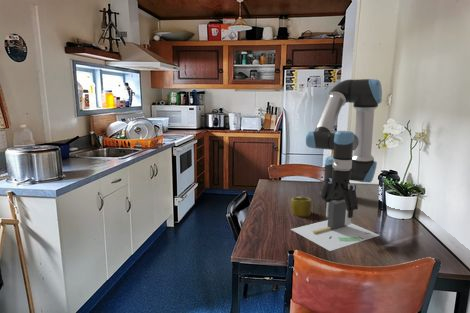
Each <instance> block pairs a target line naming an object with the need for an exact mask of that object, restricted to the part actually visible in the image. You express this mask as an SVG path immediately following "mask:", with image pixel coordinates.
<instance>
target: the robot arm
mask: <svg viewBox="0 0 470 313" xmlns="http://www.w3.org/2000/svg"><path fill="white" fill-rule="evenodd" d="M382 100H383V90H382V84H381V81H380V80H378V79H374V78H366V79H365V78H364V79H363V78H362V79H345V80H343V81H341V82H338V83H337V84H336V85H335V86H333V87H332V88H331V90H330V91H329V92H328V93H327V96H326V103H325V106H324V108H323V111H322V112H321V115H320V117H319V120H318V122H317V125H316V127H315V129H314V131H311V130H310V131H308V132H307V133H306V136H305V145H306V147H308V148H311V149H319V150H330V151H333V153H332V154H333V155H330V156H327V157H326V158H325V160H324V161H325V162H324V172H323V175H324V176H323V182H322V185H321V188H320V191H319V196H320V197H322V200H324V201H325V209H326V211H325V217H326V218H328V213H329V203H330V202H333V201H332V200H334V201H339V200H345V202H346V205H347V210H346V214H345V225H350V224H351V223H352V218H353V216H354V211H355V210H359V206H358V197H357V191H356V190H357V185H356V184H351V182H352V181H353V182H359V183H372V181H373V179H374V176H375V174H376V169H377V165H378V162H377V161H375V157H374V156H373V155H372V146H373V145H372V144H373V132H374V120H375V118H374V117H375V110H376V109H377V108H378V107H379V104H381V103H382V102H383V101H382ZM346 103H351V104H353V108H354V109H355V127H354V132H353V131H349V130H337V131H335V132H333V130H334V127H335V125H336V122H337V120H338V117H339V116H340V113H341V109H342V107H344V106H345V105H346ZM350 181H351V182H350Z"/></svg>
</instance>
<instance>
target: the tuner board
mask: <svg viewBox="0 0 470 313" xmlns="http://www.w3.org/2000/svg"><path fill="white" fill-rule="evenodd" d="M326 227H328V219H327V220H321V221H318V222H315V223H310V224H306V225H302V226H299V227H294V228H291V229H290V230H291V231H293V232H294V233H297V234H298V235H300V236H302V237H304V238H305V239H307V240H309V241H311V242H312V243H314V244H316V245H318V246H319V247H322V248H324V249H325V250H327V251H328V252H331V251H335V250H337V249H341V248H343V247H344V248H346V247H348V246H351V245H354V244H357V243H361V242H363V241H366V240H370V239H373V238H377V237H379V236H381V235H380V234H378V233H375V232H374V231H371V230H368V229H367V228H364V227H361V226H359V225H357V224H354V223H352V222H351V224H350V225H347V226H344V227H341V228H337V229H333V230H332V229H330V230H326V231H322V232H319V233H313V231H315V230H319V229H322V228H326Z"/></svg>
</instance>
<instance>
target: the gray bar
mask: <svg viewBox="0 0 470 313" xmlns="http://www.w3.org/2000/svg"><path fill="white" fill-rule="evenodd" d="M346 210H347V205H346V202H345V199H342V200H334V201H332V202H331V201H330V203H329V213H328V217H327V220H328V227H326V228H322V229H319V230H315V231H313V233H319V232H322V231H326V230H330V229H332V230H333V229H337V228H341V227H344V226H347V225H345V214H346Z"/></svg>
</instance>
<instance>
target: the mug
mask: <svg viewBox="0 0 470 313" xmlns="http://www.w3.org/2000/svg"><path fill="white" fill-rule="evenodd" d="M290 201H291V202H290V205H291V213H292V215H293V216H298V217H309V216H310V215H311V214H312V210H311V209H312V199H311V198H309V197H307V196H297V197H292V198H291V200H290Z"/></svg>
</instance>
